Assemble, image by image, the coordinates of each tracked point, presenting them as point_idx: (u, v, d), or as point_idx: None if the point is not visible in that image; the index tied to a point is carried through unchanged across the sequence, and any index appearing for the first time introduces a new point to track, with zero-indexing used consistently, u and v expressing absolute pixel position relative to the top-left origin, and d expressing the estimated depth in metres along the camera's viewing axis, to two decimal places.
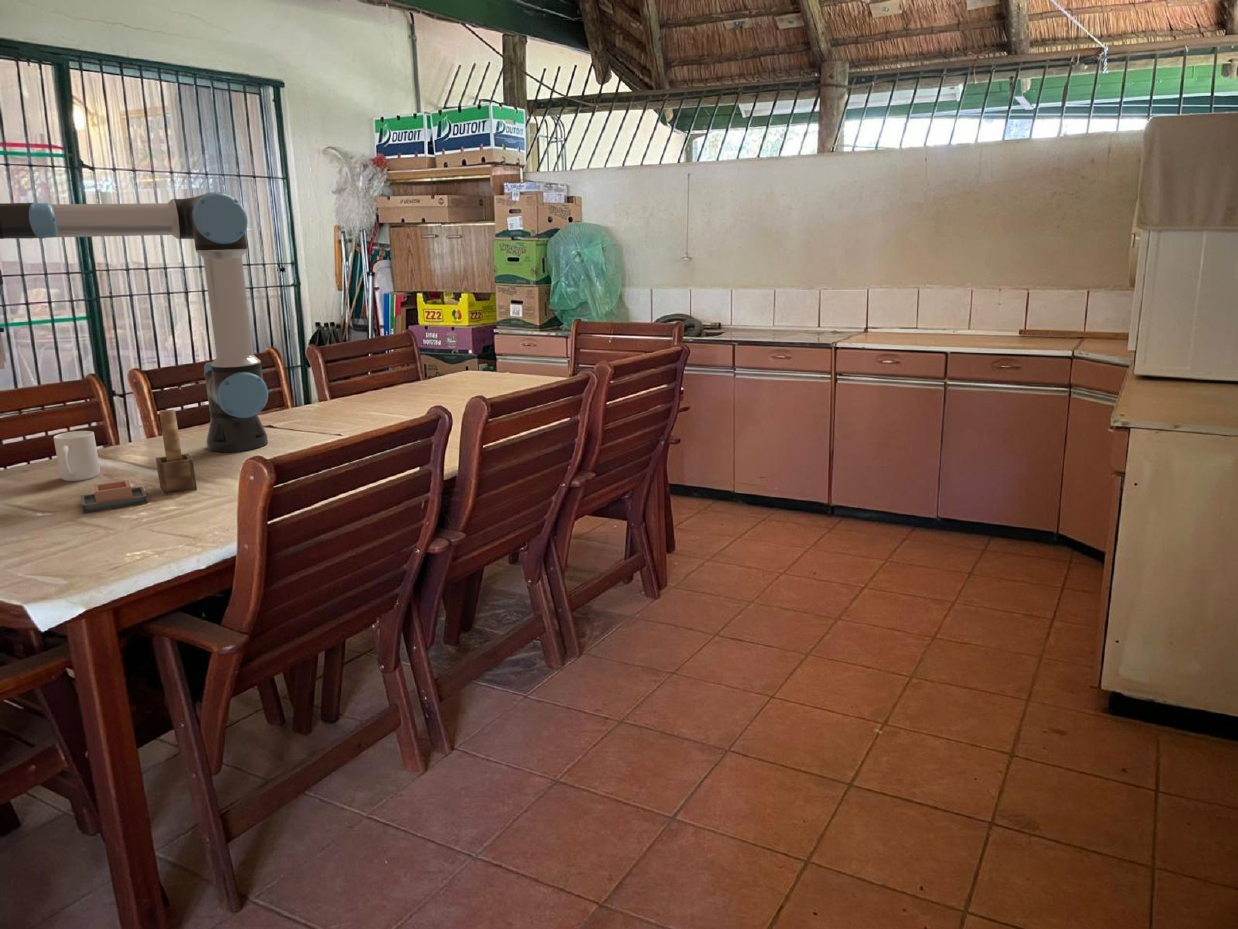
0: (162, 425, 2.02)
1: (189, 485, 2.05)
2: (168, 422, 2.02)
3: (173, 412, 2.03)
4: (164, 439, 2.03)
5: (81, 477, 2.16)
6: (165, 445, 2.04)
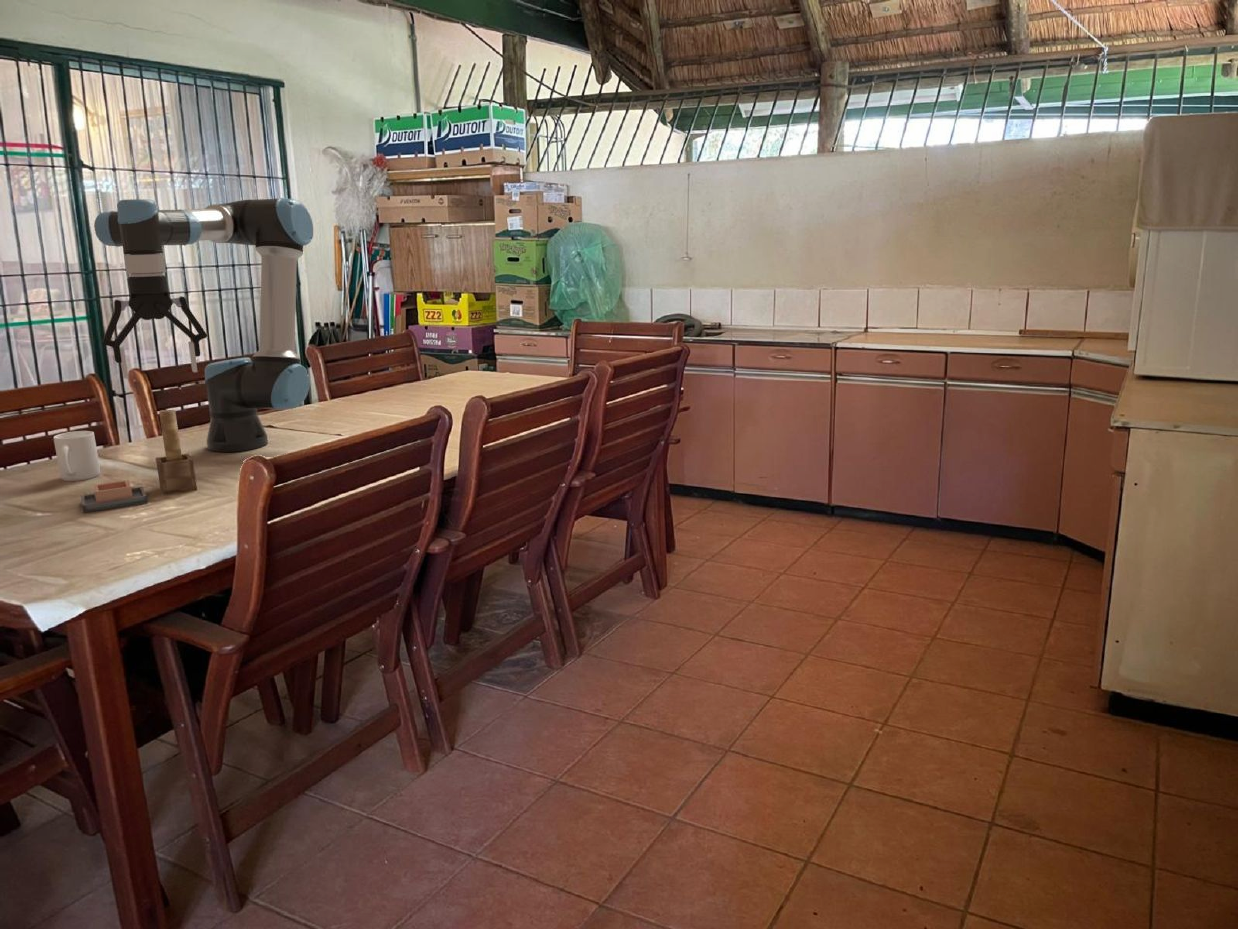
0: (162, 425, 2.02)
1: (189, 485, 2.05)
2: (168, 422, 2.02)
3: (173, 412, 2.03)
4: (164, 439, 2.03)
5: (81, 477, 2.16)
6: (165, 445, 2.04)
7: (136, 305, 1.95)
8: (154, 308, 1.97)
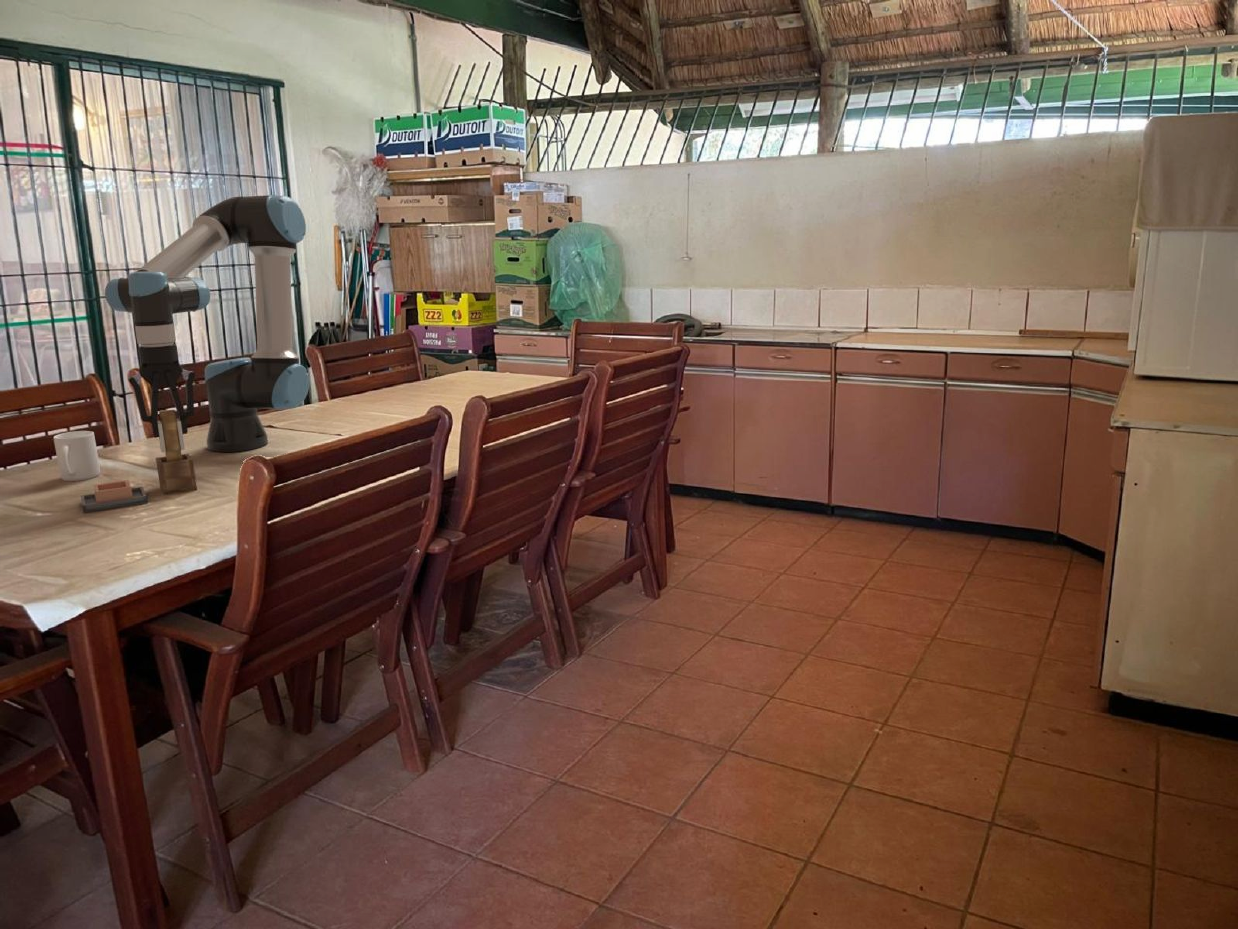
0: (162, 425, 2.02)
1: (189, 485, 2.05)
2: (168, 422, 2.02)
3: (173, 412, 2.03)
4: (164, 439, 2.03)
5: (81, 477, 2.16)
6: (165, 445, 2.04)
7: (147, 374, 1.98)
8: (163, 374, 2.00)
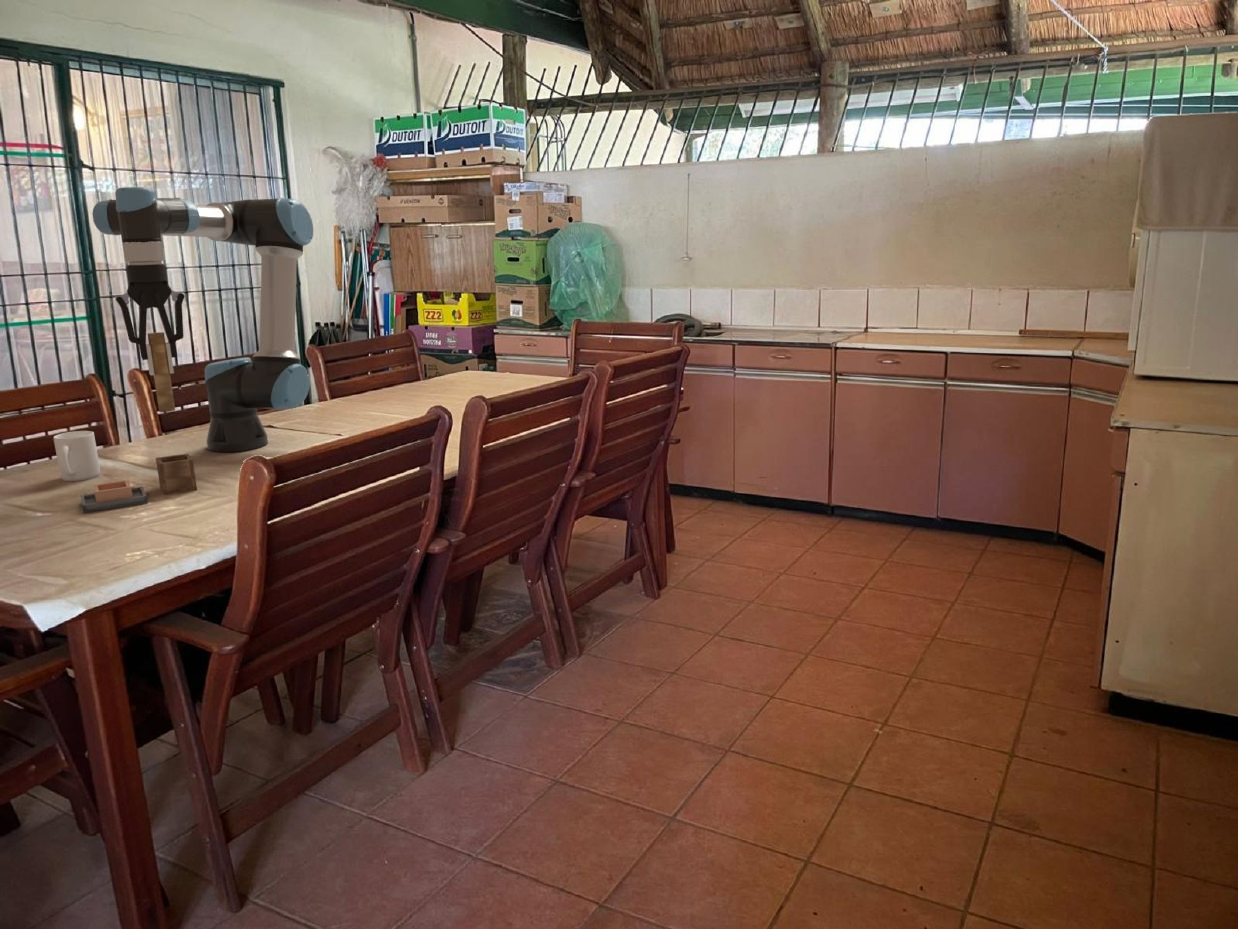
0: (150, 347, 1.98)
1: (189, 485, 2.05)
2: (157, 344, 1.98)
3: (162, 334, 1.98)
4: None
5: (81, 477, 2.16)
6: (154, 368, 1.99)
7: (135, 293, 1.94)
8: (152, 294, 1.96)
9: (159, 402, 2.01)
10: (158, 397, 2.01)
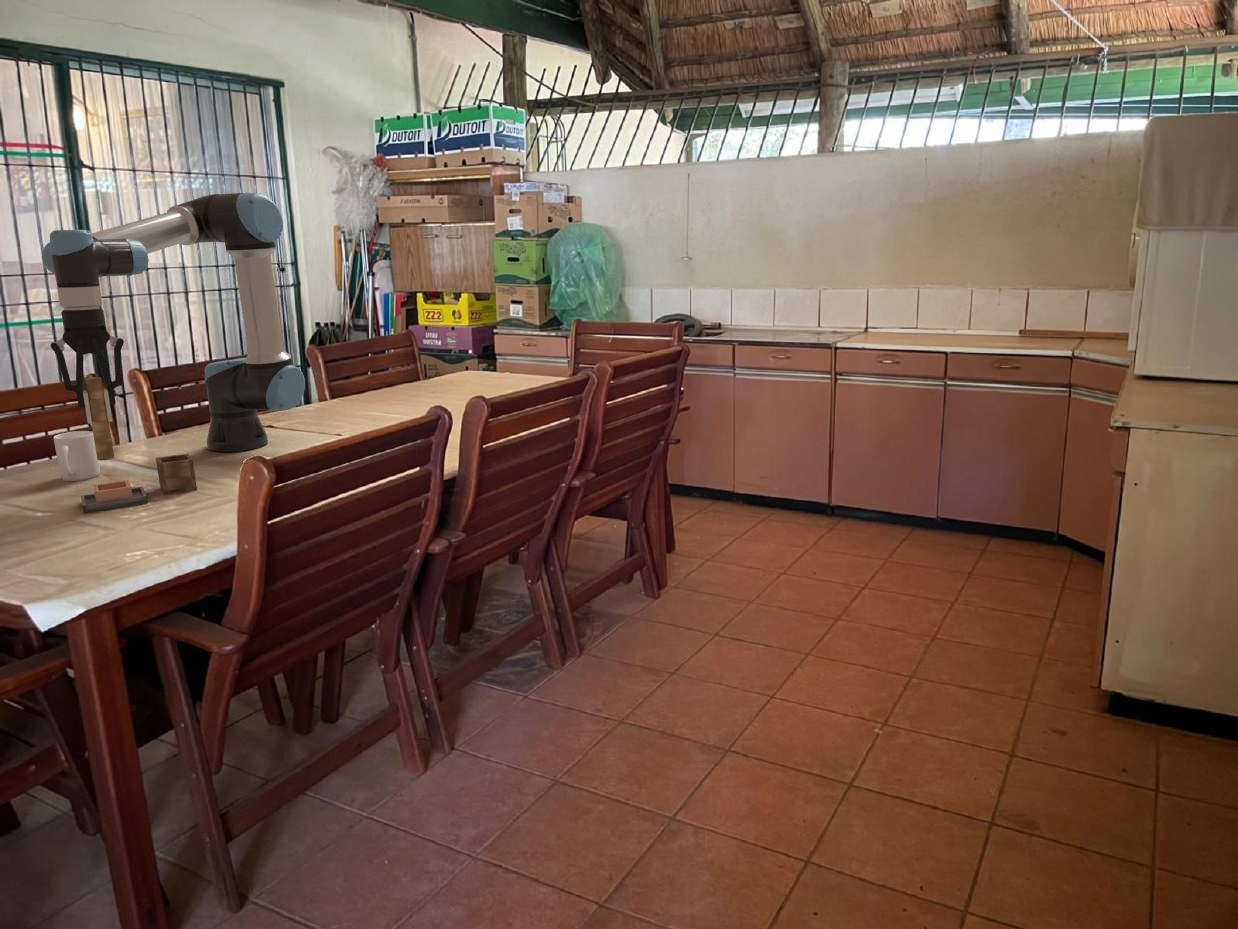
0: (87, 393, 1.90)
1: (189, 485, 2.05)
2: (94, 390, 1.90)
3: (99, 380, 1.90)
4: (90, 409, 1.91)
5: (81, 477, 2.16)
6: (91, 415, 1.91)
7: (71, 339, 1.86)
8: (89, 340, 1.88)
9: (97, 450, 1.93)
10: (96, 445, 1.93)
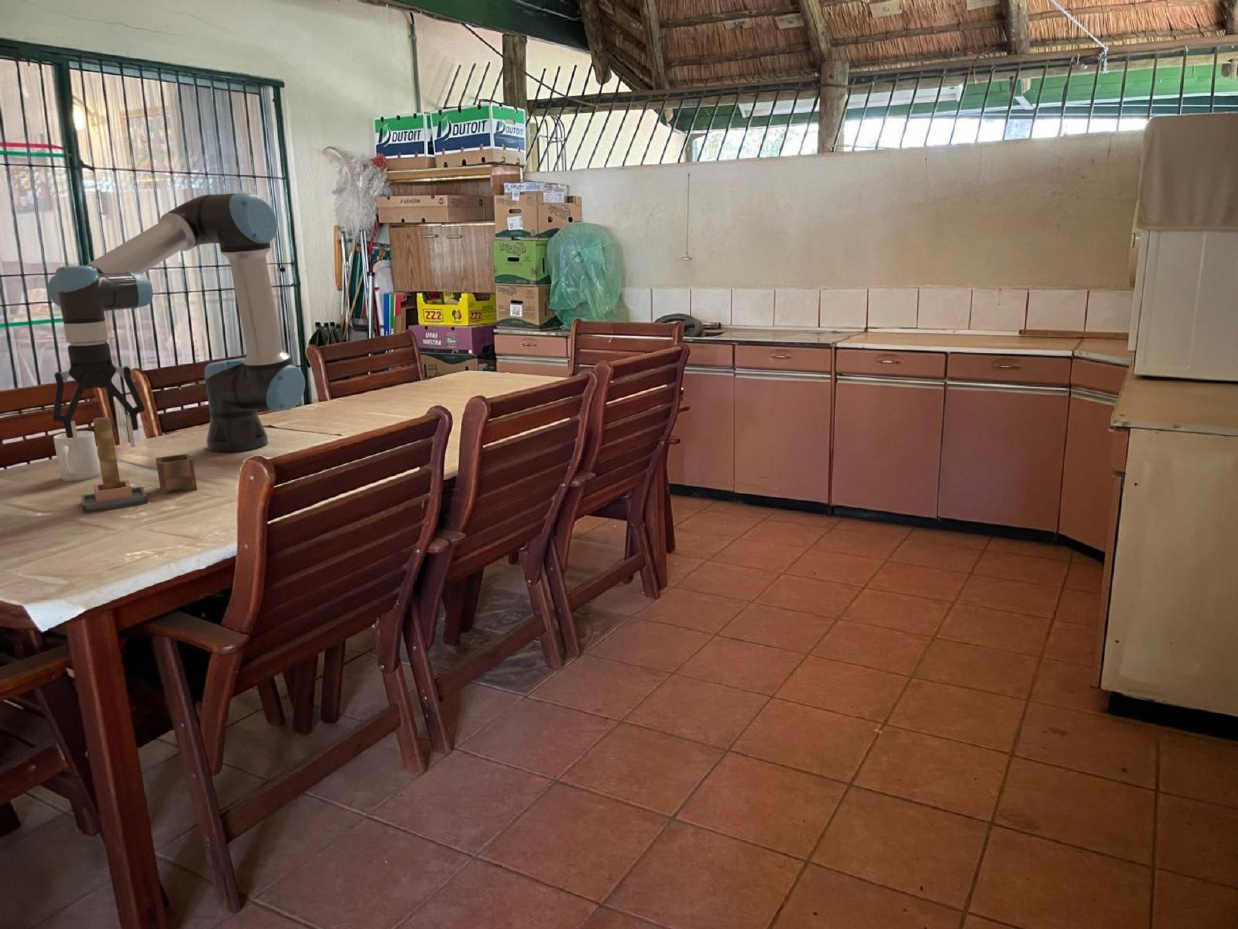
0: (96, 433, 1.92)
1: (189, 485, 2.05)
2: (102, 430, 1.92)
3: (108, 420, 1.93)
4: (98, 448, 1.93)
5: (81, 477, 2.16)
6: (99, 454, 1.94)
7: (77, 374, 1.88)
8: (95, 376, 1.90)
9: (105, 489, 1.95)
10: (104, 484, 1.95)
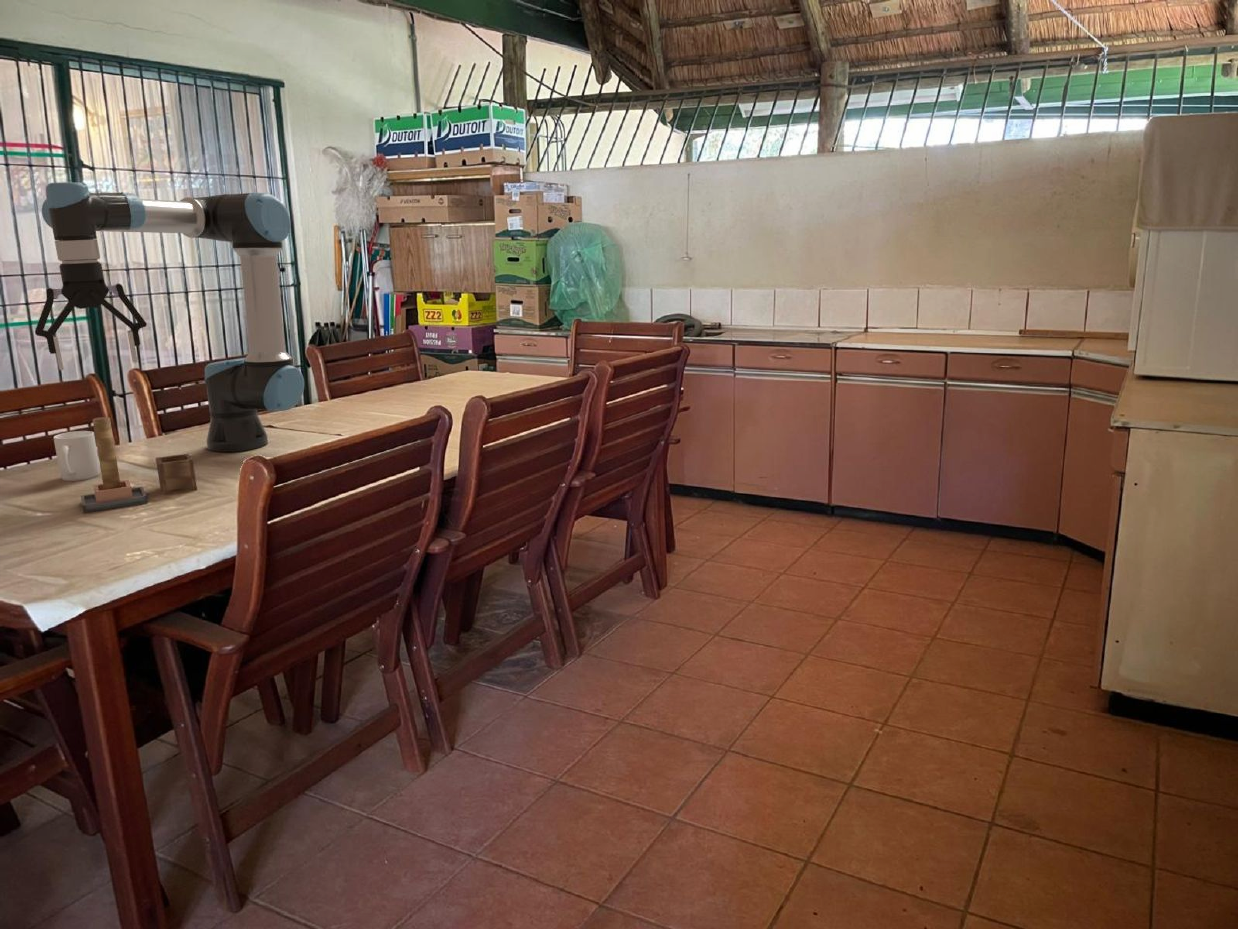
0: (96, 433, 1.92)
1: (189, 485, 2.05)
2: (102, 430, 1.92)
3: (107, 420, 1.93)
4: (98, 448, 1.93)
5: (81, 477, 2.16)
6: (99, 454, 1.94)
7: (69, 293, 1.87)
8: (89, 296, 1.89)
9: (105, 489, 1.95)
10: (104, 484, 1.95)
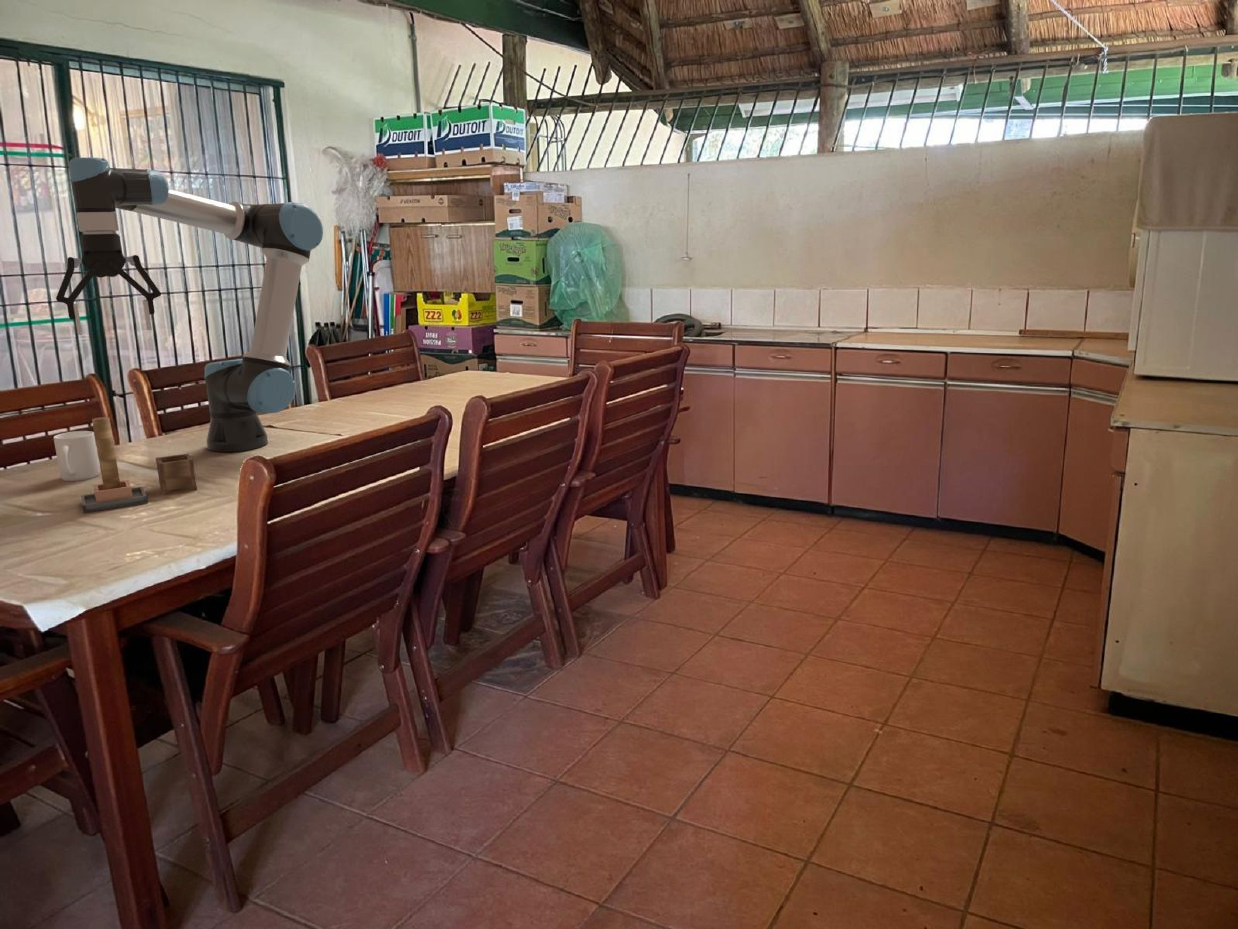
0: (95, 433, 1.92)
1: (189, 485, 2.05)
2: (102, 430, 1.92)
3: (107, 420, 1.93)
4: (97, 448, 1.93)
5: (81, 477, 2.16)
6: (99, 454, 1.94)
7: (89, 262, 1.98)
8: (107, 266, 2.00)
9: (105, 489, 1.95)
10: (104, 484, 1.95)
